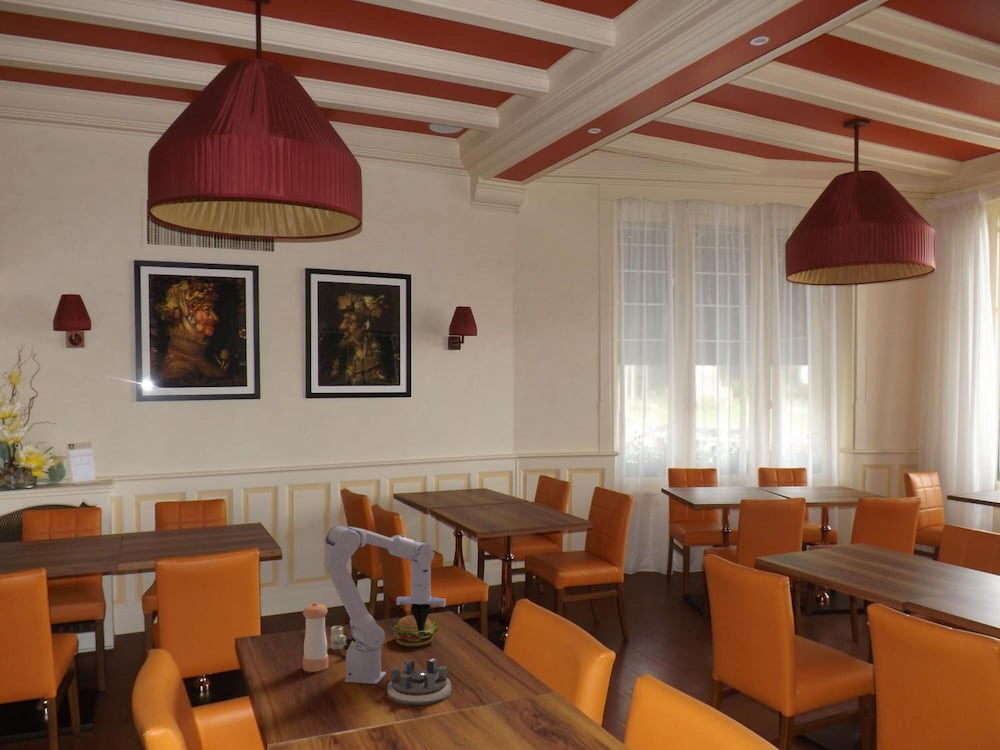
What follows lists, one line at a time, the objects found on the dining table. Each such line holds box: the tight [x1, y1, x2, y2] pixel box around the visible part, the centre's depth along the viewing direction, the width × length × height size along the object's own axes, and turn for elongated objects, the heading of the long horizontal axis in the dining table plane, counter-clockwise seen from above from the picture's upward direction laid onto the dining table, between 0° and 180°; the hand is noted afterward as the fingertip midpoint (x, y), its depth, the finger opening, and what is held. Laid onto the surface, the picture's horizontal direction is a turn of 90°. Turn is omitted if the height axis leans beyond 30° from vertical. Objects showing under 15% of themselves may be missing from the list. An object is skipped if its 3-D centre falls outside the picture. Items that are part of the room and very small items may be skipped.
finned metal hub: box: [390, 658, 448, 695], centre depth 204 cm, size 15×15×4 cm
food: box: [392, 614, 439, 647], centre depth 245 cm, size 14×14×8 cm
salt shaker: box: [302, 601, 329, 672], centre depth 223 cm, size 7×7×19 cm
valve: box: [329, 625, 356, 654], centre depth 237 cm, size 7×7×12 cm
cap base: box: [386, 677, 452, 707], centre depth 204 cm, size 17×17×2 cm
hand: (421, 629), depth 224 cm, fingers closed
